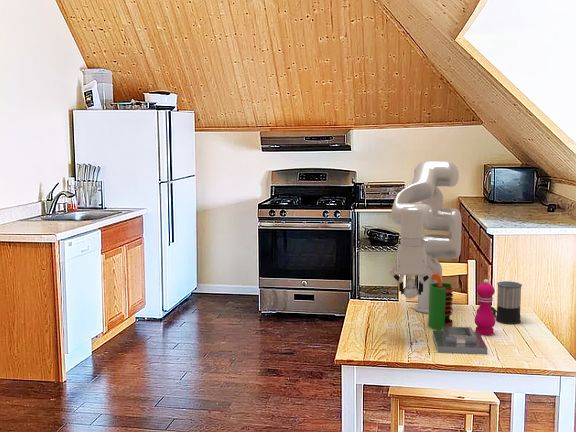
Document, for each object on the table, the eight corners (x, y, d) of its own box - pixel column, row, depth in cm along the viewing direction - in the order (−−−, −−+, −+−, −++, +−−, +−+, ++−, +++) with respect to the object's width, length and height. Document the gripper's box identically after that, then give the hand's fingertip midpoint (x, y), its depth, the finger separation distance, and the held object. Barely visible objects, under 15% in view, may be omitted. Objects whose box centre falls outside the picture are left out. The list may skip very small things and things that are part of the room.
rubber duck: (400, 298, 218) (400, 276, 217) (406, 294, 224) (407, 272, 223) (415, 300, 215) (415, 277, 214) (421, 296, 221) (421, 274, 220)
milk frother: (522, 325, 239) (524, 287, 238) (479, 323, 242) (480, 285, 240) (515, 314, 253) (517, 278, 251) (475, 313, 256) (476, 277, 254)
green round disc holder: (453, 330, 233) (454, 277, 231) (428, 329, 235) (429, 276, 232) (451, 323, 243) (453, 271, 240) (427, 321, 245) (429, 271, 242)
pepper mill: (470, 333, 230) (472, 279, 227) (479, 328, 235) (481, 276, 233) (489, 337, 225) (491, 282, 222) (498, 332, 230) (500, 279, 228)
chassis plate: (432, 335, 228) (432, 323, 227) (478, 337, 225) (478, 324, 225) (437, 352, 210) (437, 339, 209) (487, 354, 208) (487, 340, 207)
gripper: (436, 240, 220) (435, 291, 222) (386, 240, 222) (385, 290, 225) (438, 244, 212) (436, 297, 215) (386, 243, 215) (385, 295, 217)
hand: (410, 293), depth 220 cm, fingers closed on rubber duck, 5 cm apart
